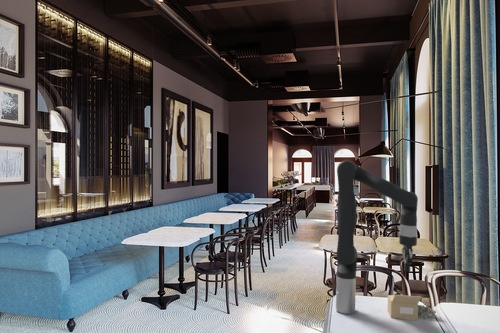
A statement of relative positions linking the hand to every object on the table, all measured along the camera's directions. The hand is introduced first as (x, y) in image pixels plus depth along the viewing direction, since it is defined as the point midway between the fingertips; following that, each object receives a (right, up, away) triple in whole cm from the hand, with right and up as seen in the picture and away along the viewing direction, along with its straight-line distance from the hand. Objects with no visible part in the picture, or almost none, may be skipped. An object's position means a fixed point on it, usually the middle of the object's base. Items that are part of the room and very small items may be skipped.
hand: (407, 271), depth 173 cm
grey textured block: (+13, -25, +9) cm, 29 cm away
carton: (+1, -24, +8) cm, 25 cm away
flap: (0, -13, +1) cm, 13 cm away
